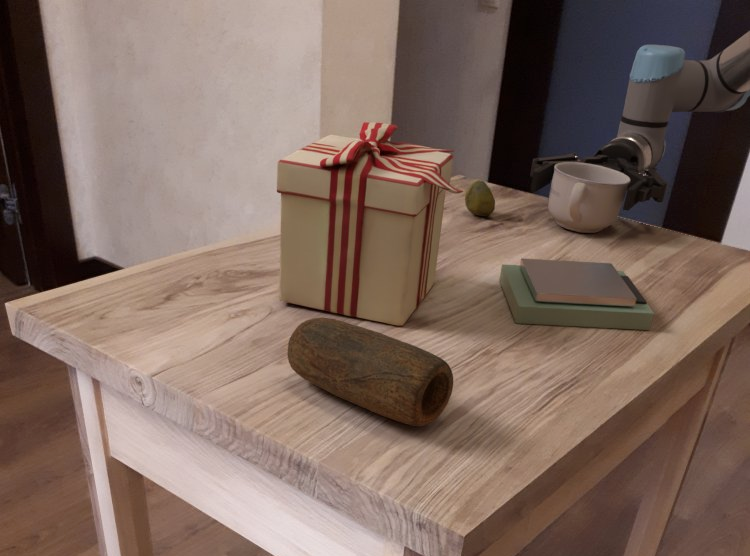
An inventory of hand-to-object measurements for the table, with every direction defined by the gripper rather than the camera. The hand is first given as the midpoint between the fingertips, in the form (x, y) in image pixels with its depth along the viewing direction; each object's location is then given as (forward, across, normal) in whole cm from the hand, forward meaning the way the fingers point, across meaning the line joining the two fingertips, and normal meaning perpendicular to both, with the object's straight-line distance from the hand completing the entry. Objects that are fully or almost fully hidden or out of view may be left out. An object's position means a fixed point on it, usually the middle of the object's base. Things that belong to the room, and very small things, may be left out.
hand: (579, 190), depth 111 cm
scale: (+26, -9, -6) cm, 28 cm away
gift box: (+38, +11, -6) cm, 40 cm away
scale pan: (+26, -9, -4) cm, 28 cm away
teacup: (-2, 0, -6) cm, 6 cm away
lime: (+1, +14, -6) cm, 15 cm away
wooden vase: (+60, -1, -6) cm, 61 cm away
